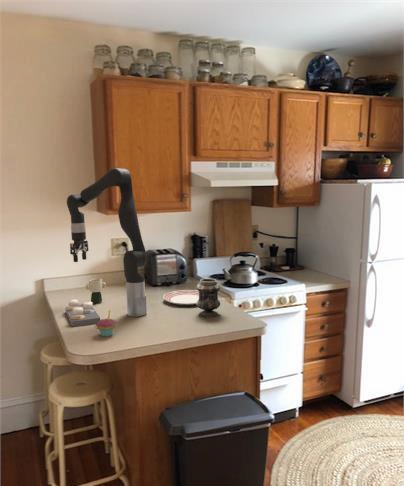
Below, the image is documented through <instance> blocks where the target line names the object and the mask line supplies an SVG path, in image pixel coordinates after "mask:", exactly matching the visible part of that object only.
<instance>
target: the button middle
mask: <svg viewBox="0 0 404 486" xmlns="http://www.w3.org/2000/svg"><path fill="white" fill-rule="evenodd" d="M82 305H83V309H91V308H93V309H94V307H93V302H91V301H85V302H82Z"/></svg>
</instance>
